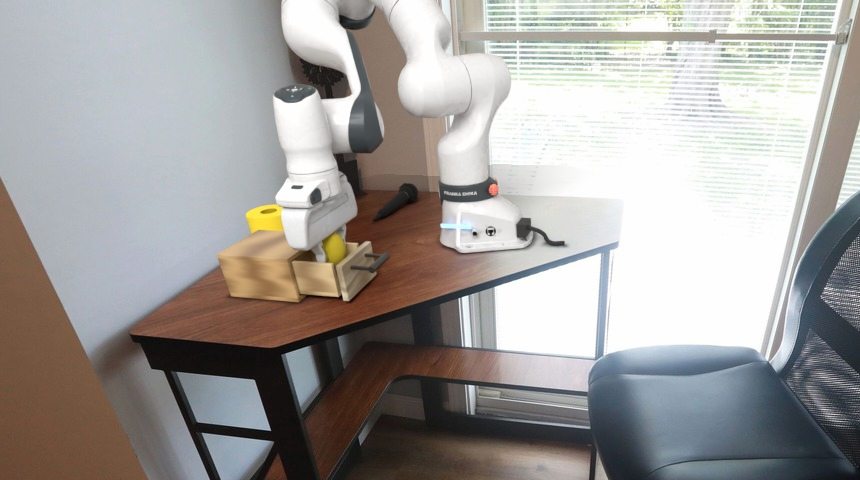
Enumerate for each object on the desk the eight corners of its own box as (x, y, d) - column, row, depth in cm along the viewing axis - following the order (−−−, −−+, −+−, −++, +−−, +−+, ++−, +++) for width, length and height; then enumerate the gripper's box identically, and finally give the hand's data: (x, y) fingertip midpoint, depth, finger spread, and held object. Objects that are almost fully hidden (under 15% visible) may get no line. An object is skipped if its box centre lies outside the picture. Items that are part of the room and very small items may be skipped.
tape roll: (285, 259, 130) (274, 219, 125) (248, 256, 133) (236, 217, 127) (309, 243, 138) (299, 205, 133) (274, 240, 141) (263, 203, 135)
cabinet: (333, 273, 123) (323, 233, 118) (298, 302, 112) (286, 259, 107) (270, 268, 126) (258, 229, 121) (230, 296, 115) (216, 254, 110)
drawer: (399, 276, 118) (394, 242, 114) (373, 303, 108) (366, 268, 104) (315, 269, 122) (307, 237, 118) (282, 295, 112) (272, 261, 108)
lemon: (354, 263, 115) (346, 225, 111) (342, 275, 111) (333, 236, 106) (329, 262, 116) (320, 224, 112) (316, 273, 112) (306, 235, 107)
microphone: (382, 233, 150) (420, 201, 164) (383, 214, 146) (422, 183, 160) (364, 225, 151) (404, 194, 165) (365, 206, 147) (405, 176, 161)
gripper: (329, 168, 113) (343, 234, 121) (268, 200, 97) (289, 274, 104) (357, 169, 112) (370, 235, 119) (301, 202, 95) (320, 277, 103)
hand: (332, 254), depth 112 cm, fingers closed on lemon, 5 cm apart
